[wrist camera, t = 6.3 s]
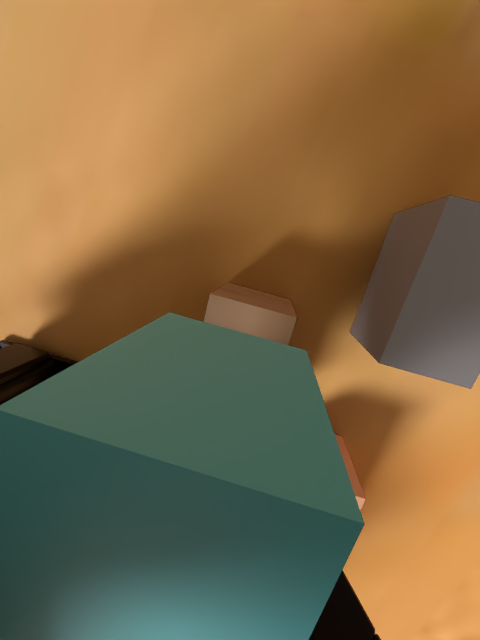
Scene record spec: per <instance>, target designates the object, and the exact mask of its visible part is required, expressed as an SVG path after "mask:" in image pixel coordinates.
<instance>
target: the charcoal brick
mask: <svg viewBox="0 0 480 640" xmlns="http://www.w3.org/2000/svg"><path fill="white" fill-rule="evenodd" d="M350 333H351V334H352V335H353V336H354V337H355V338H356V339H357V341H358V342H359V343H360V344H361V345H362V346H363V347H364V348H365V349H366V350H367V351H368V352H369V353H370V354H371V355H372V356H373V357H374V358H375V359H376V361H377V362H378V363H380V364H384V365H387V366H391V367H394V368H398V369H402V370H405V371H409V372H412V373H416V374H419V375H423V376H427V377H430V378H434V379H437V380H441V381H444V382H448V383H451V384H455V385H459V386H462V387H466V388H469V389H471V388H472V387H473V385H474V383H475V381H476V379H477V377H478V375H479V373H480V202H476V201H472V200H468V199H464V198H459V197H455V196H451V195H449V196H446V197H443V198H440V199H437V200H434V201H431V202H428V203H425V204H422V205H419V206H416V207H413V208H410V209H407V210H404V211H401V212H398V213H395V214H394V216H393V219H392V221H391V224H390V227H389V229H388V232H387V235H386V237H385V240H384V243H383V245H382V248H381V250H380V253H379V256H378V258H377V261H376V264H375V266H374V269H373V272H372V274H371V277H370V280H369V282H368V285H367V287H366V290H365V293H364V295H363V298H362V301H361V303H360V306H359V309H358V311H357V314H356V317H355V319H354V322H353V324H352V327H351V330H350Z"/></svg>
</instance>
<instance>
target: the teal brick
mask: <svg viewBox="0 0 480 640" xmlns="http://www.w3.org/2000/svg"><path fill="white" fill-rule="evenodd" d="M363 526H364V521H363V518H362V515H361V512H360V509H359V506H358V503H357V500H356V497H355V494H354V491H353V488H352V485H351V482H350V479H349V476H348V473H347V470H346V467H345V464H344V461H343V458H342V455H341V452H340V449H339V446H338V443H337V440H336V437H335V434H334V431H333V428H332V425H331V422H330V419H329V416H328V413H327V410H326V407H325V404H324V401H323V398H322V395H321V392H320V389H319V386H318V383H317V380H316V377H315V374H314V371H313V368H312V365H311V362H310V359H309V356H308V353H307V350H304V349H300V348H297V347H293V346H289V345H286V344H282V343H279V342H275V341H271V340H268V339H264V338H260V337H257V336H253V335H250V334H246V333H242V332H239V331H235V330H232V329H228V328H224V327H221V326H217V325H214V324H210V323H206V322H203V321H199V320H196V319H192V318H188V317H185V316H181V315H178V314H174V313H170V312H168V313H167V314H165V315H163V316H161V317H159V318H158V319H156V320H154V321H152V322H150V323H149V324H147V325H145V326H143V327H141V328H139V329H138V330H136V331H134V332H132V333H130V334H129V335H127V336H125V337H123V338H121V339H119V340H118V341H116V342H114V343H112V344H110V345H109V346H107V347H105V348H103V349H101V350H100V351H98V352H96V353H94V354H92V355H90V356H89V357H87V358H85V359H83V360H81V361H80V362H78V363H76V364H74V365H72V366H70V367H69V368H67V369H65V370H63V371H61V372H60V373H58V374H56V375H54V376H52V377H51V378H49V379H47V380H45V381H43V382H41V383H40V384H38V385H36V386H34V387H32V388H31V389H29V390H27V391H25V392H23V393H22V394H20V395H18V396H16V397H14V398H12V399H11V400H9V401H7V402H5V403H3V404H2V405H0V640H309V638H310V636H311V633H312V631H313V629H314V627H315V625H316V623H317V621H318V619H319V617H320V615H321V613H322V611H323V609H324V607H325V605H326V602H327V600H328V598H329V596H330V594H331V592H332V590H333V588H334V586H335V584H336V582H337V580H338V578H339V576H340V574H341V571H342V569H343V567H344V565H345V563H346V561H347V559H348V557H349V555H350V553H351V551H352V549H353V547H354V545H355V542H356V540H357V538H358V536H359V534H360V532H361V530H362V528H363Z"/></svg>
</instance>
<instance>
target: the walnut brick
mask: <svg viewBox="0 0 480 640" xmlns="http://www.w3.org/2000/svg"><path fill="white" fill-rule="evenodd" d="M296 319H297V316H296V313H295V310H294V307H293V305H292V302H291V300H290V299H287V298H283V297H279V296H276V295H272V294H268V293H265V292H261V291H257V290H254V289H250V288H246V287H243V286H239V285H235V284H232V283H226V284H225V285H223V286H222V287H220V288H218V289H217V290H215V291H213V292H212V293H210V295H209V300H208V304H207V309H206V313H205V318H204V322H206V323H210V324H214V325H217V326H221V327H224V328H228V329H232V330H235V331H239V332H242V333H246V334H250V335H253V336H257V337H260V338H264V339H268V340H271V341H275V342H279V343H282V344H286V345H288V344H289V341H290V338H291V335H292V332H293V329H294V326H295V322H296Z"/></svg>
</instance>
